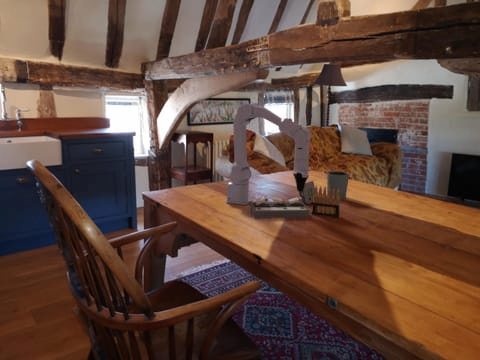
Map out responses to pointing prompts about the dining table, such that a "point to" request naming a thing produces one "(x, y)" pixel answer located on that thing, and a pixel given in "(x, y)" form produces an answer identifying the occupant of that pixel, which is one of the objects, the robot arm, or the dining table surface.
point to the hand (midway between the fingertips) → (300, 190)
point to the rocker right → (295, 200)
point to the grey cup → (338, 182)
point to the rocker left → (261, 200)
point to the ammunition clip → (326, 203)
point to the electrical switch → (308, 192)
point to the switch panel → (279, 210)
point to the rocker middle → (278, 200)
